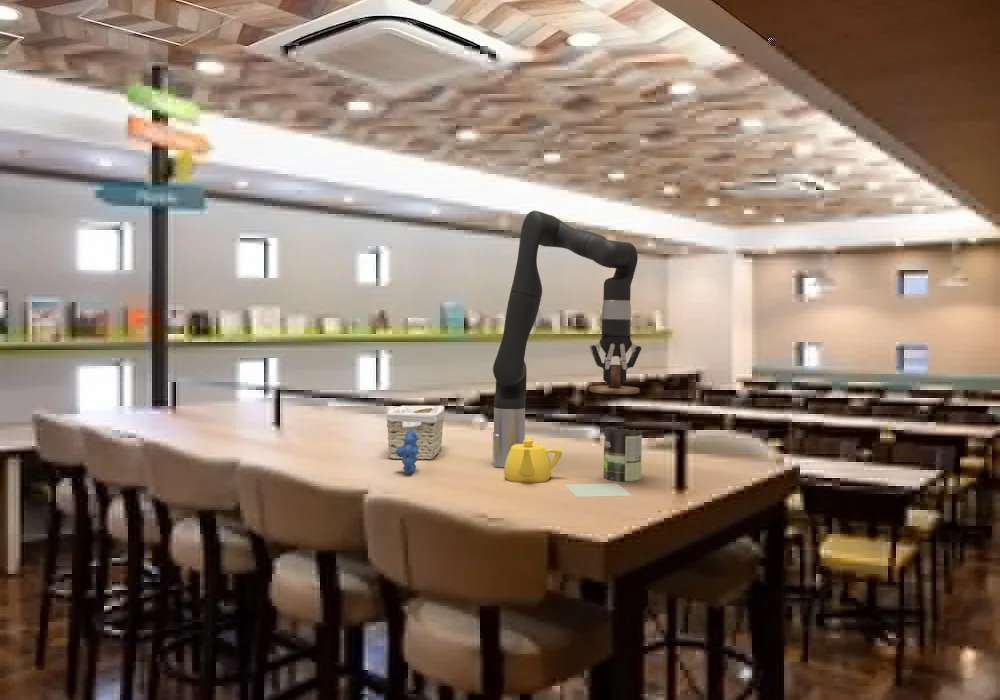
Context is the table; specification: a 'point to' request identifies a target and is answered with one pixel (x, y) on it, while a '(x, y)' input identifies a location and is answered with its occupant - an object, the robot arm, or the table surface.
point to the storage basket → (416, 429)
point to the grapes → (409, 451)
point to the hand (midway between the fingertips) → (614, 383)
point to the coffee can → (622, 455)
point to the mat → (597, 490)
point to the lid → (614, 384)
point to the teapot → (529, 462)
